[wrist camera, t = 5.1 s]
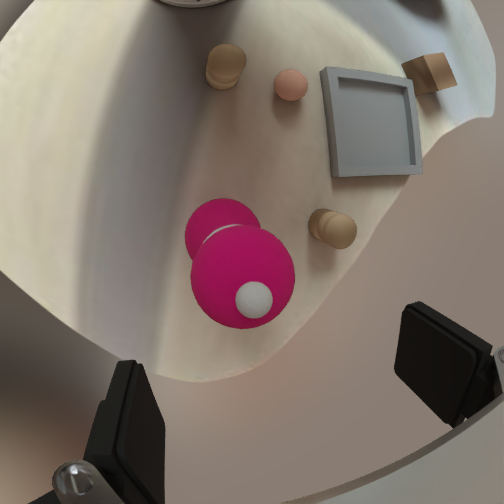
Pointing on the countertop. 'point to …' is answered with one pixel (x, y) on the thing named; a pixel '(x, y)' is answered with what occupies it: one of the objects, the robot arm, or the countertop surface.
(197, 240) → the pepper mill
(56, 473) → the robot arm
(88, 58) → the countertop surface
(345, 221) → the cork
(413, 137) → the tray
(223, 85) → the cork
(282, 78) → the ball
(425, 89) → the walnut block
